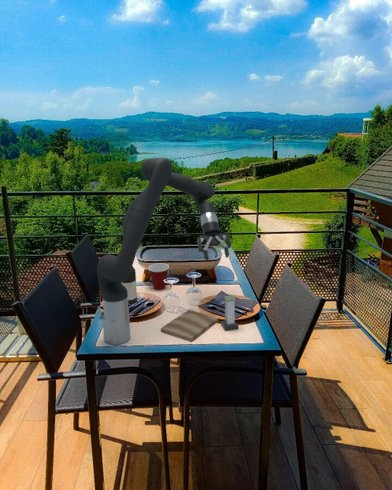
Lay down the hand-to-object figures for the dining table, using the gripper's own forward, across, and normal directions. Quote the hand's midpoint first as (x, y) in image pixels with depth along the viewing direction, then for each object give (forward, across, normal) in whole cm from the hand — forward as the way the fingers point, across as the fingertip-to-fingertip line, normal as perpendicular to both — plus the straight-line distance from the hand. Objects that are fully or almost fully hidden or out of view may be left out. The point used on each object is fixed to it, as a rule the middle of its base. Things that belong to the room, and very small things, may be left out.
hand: (217, 258), depth 155 cm
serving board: (+25, -16, +8) cm, 31 cm away
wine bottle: (+7, -40, +27) cm, 49 cm away
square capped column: (+28, 0, +5) cm, 29 cm away
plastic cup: (-3, -24, +42) cm, 48 cm away
